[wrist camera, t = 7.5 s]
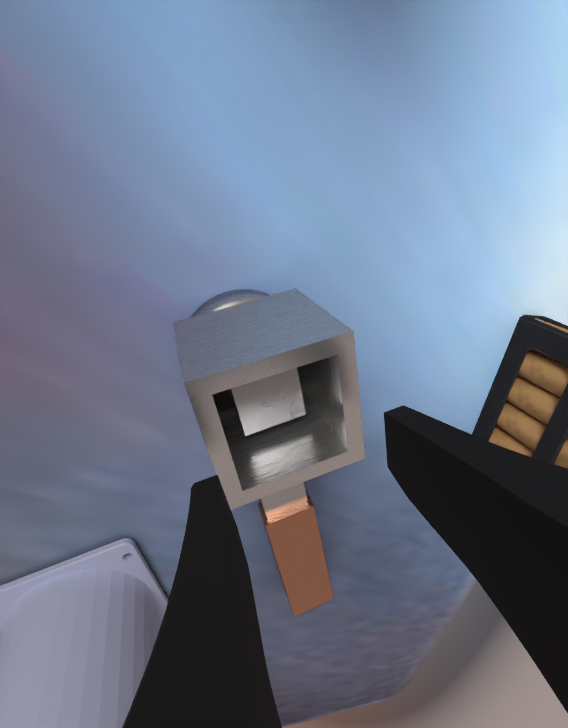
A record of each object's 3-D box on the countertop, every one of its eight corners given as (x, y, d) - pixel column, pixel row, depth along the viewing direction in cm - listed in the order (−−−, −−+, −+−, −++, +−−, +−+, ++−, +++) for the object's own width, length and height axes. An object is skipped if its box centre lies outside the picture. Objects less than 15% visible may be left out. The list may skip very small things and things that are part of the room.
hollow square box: (312, 391, 18) (365, 458, 14) (207, 426, 17) (229, 510, 13) (295, 288, 15) (353, 330, 11) (172, 322, 15) (183, 383, 10)
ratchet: (160, 310, 16) (165, 353, 12) (288, 274, 17) (331, 303, 13) (266, 602, 26) (288, 676, 22) (342, 568, 27) (375, 633, 23)
